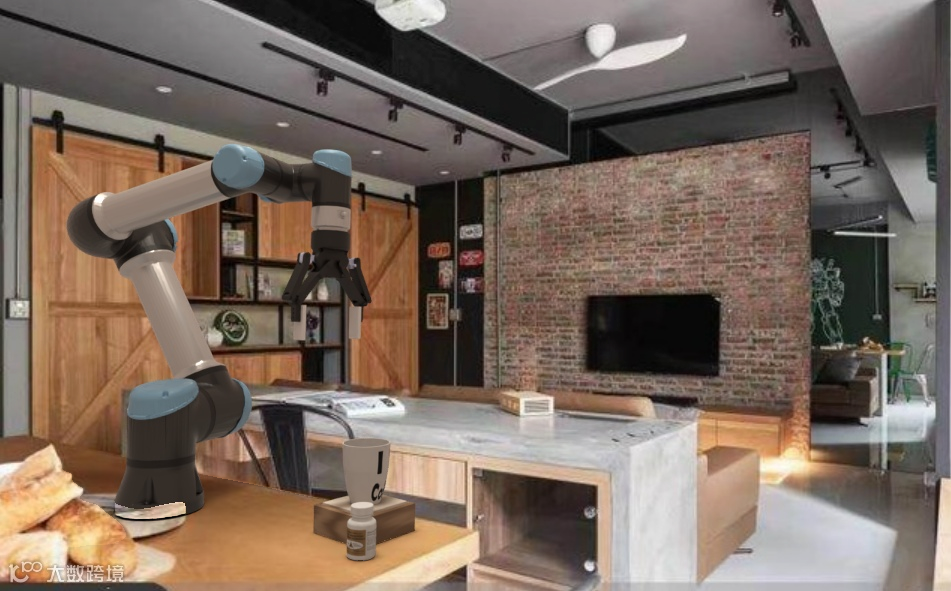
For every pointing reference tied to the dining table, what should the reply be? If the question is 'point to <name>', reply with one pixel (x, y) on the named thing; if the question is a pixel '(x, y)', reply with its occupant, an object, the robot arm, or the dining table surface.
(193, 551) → the dining table surface
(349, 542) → the pill bottle
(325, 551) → the dining table surface
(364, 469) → the cup
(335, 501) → the pedestal
